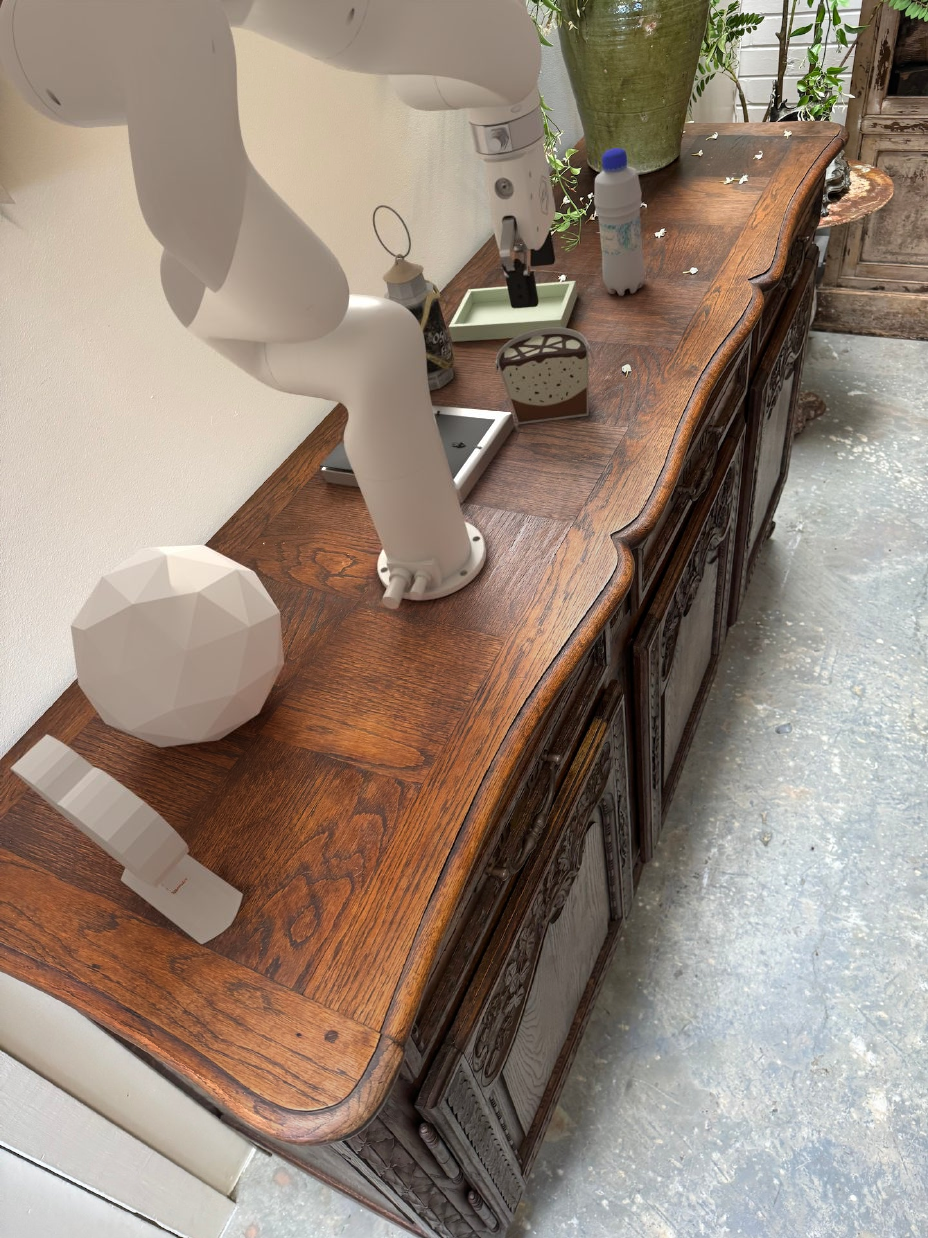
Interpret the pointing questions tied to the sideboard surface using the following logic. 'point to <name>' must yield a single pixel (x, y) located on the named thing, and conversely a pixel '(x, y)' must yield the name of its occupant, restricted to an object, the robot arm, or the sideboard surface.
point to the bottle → (619, 223)
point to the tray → (511, 312)
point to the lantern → (421, 311)
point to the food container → (546, 374)
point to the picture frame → (446, 446)
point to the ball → (178, 645)
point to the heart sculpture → (131, 839)
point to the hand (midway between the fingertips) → (534, 284)
